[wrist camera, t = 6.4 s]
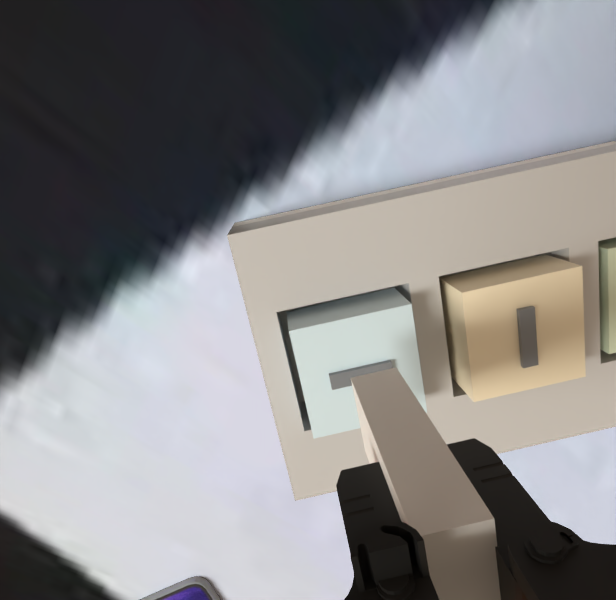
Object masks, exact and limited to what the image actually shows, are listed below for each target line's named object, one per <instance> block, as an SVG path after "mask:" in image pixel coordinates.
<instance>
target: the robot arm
mask: <svg viewBox="0 0 616 600" xmlns="http://www.w3.org/2000/svg"><path fill="white" fill-rule="evenodd" d="M351 382H352V387H353V392H354V397H355V402H356V407H357V412H358V418H359V423H360V428H361V433H362V438H363V443H364V448H365V452H366V455H367V458H368V461H369V464H366V465H362V466H358V467H353V468H349V469H345V470H341V472H340V475H339V478H338V481H337V484H336V487H337V492H338V497H339V501H340V506H341V511H342V515H343V520H344V525H345V529H346V534H347V539H348V543H349V548H350V553H351V561H352V565H353V570H354V580H353V585H352V588H351V590H350V592H349V594H348V596H347V597H346V598H345V599H344V600H616V545H609V544H598V543H590V542H587V541H583V540H582V539H581V538H580V537H579V536H578V535H576V534H575V533H574V532H573V531H572V530H570V529H568V528H566V527H564V526H562V525H560V524H558V523H555V522H551V521H550V520H549V519H548V518H547V517H546V515H545V514H544V513H543V512H542V510H541V509H540V508H539V507H538V505H537V504H536V503H535V502H534V500H533V499H532V498H531V497H530V495H529V494H528V493H527V492H526V490H525V489H524V488H523V487H522V485H521V484H520V483H519V482H518V480H517V479H516V478H515V477H514V476H512V473H511V472H510V470H509V469H508V468H507V467H506V465H505V464H503V462H502V460H501V459H500V458H499V457H498V455H497V454H496V453H495V452H494V450H493V449H492V448H491V447H489V446H487V445H486V444H484V443H482V442H480V441H479V440H477V439H475V438H472V439H468V440H464V441H459V442H455V443H451V444H447V445H446V443H445V441H444V440H443V438H442V437H441V435H440V434H439V432H438V431H437V429H436V428H435V426H434V424H433V423H432V421H431V420H430V418H429V417H428V415H427V414H426V412H425V411H424V409H423V407H422V406H421V404H420V403H419V401H418V400H417V398H416V397H415V395H414V394H413V392H412V390H411V389H410V387H409V386H408V384H407V383H406V381H405V380H404V378H403V377H402V375H401V373H400V372H399V370H398V369H397V368H392V369H388V370H383V371H379V372H375V373H370V374H366V375H361V376H357V377H353V378H351Z"/></svg>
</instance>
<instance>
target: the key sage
mask: <svg viewBox="0 0 616 600" xmlns="http://www.w3.org/2000/svg"><path fill="white" fill-rule="evenodd" d="M598 256H599V307H600V349H601V350H603V351H604V352H606V353H608V354H612V353H616V237H615V238H610V239H605V240H601V241H598Z"/></svg>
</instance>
